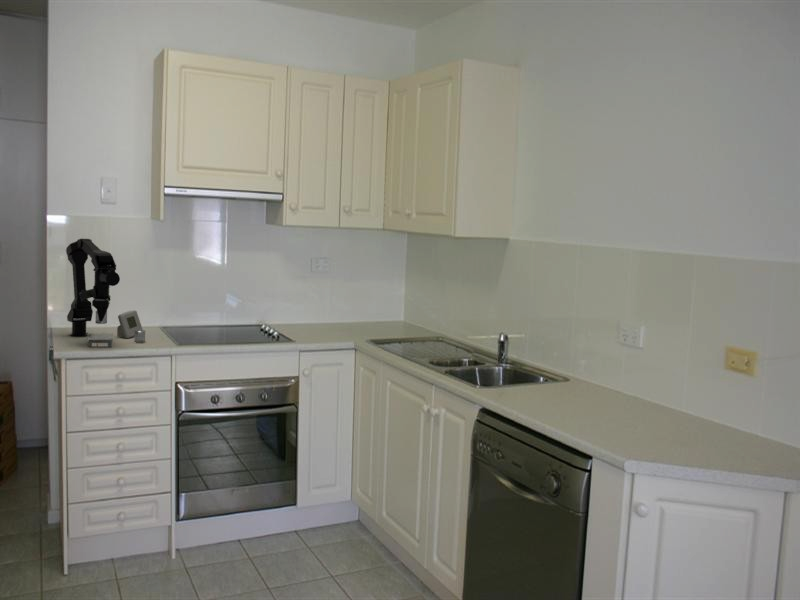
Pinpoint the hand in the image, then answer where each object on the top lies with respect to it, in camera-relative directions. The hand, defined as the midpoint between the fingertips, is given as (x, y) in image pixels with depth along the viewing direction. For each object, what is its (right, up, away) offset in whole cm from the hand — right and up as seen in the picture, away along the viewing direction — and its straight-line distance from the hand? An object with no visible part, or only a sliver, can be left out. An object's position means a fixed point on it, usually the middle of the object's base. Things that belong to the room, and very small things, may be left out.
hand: (101, 320), depth 306 cm
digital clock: (+4, -8, +23) cm, 25 cm away
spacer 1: (0, -1, 0) cm, 1 cm away
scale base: (0, -10, -2) cm, 10 cm away
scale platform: (0, -7, -2) cm, 7 cm away
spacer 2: (+13, -10, +10) cm, 19 cm away
